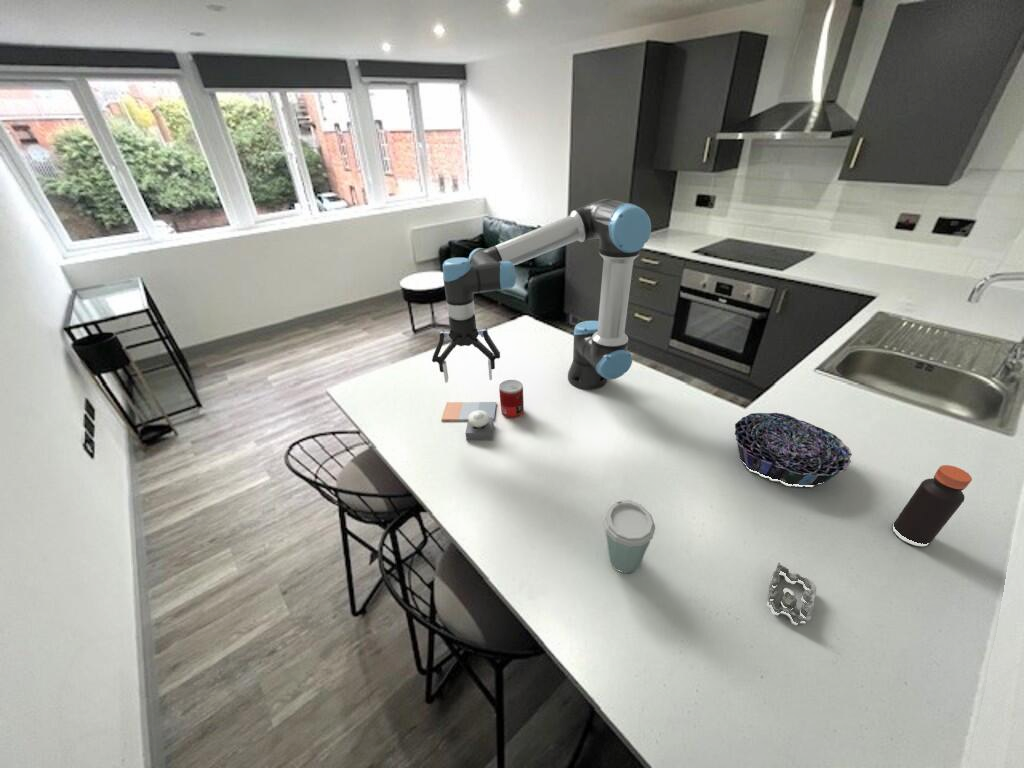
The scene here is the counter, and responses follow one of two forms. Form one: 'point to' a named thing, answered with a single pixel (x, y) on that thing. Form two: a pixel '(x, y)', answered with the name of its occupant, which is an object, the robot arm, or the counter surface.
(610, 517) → the disposable coffee cup
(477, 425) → the dome button
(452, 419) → the flat rectangular panel
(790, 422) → the decorative bowl
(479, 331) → the robot arm
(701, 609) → the counter surface
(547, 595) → the counter surface
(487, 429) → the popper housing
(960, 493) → the bottle
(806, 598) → the grey lumpy piece
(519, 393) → the canned food
